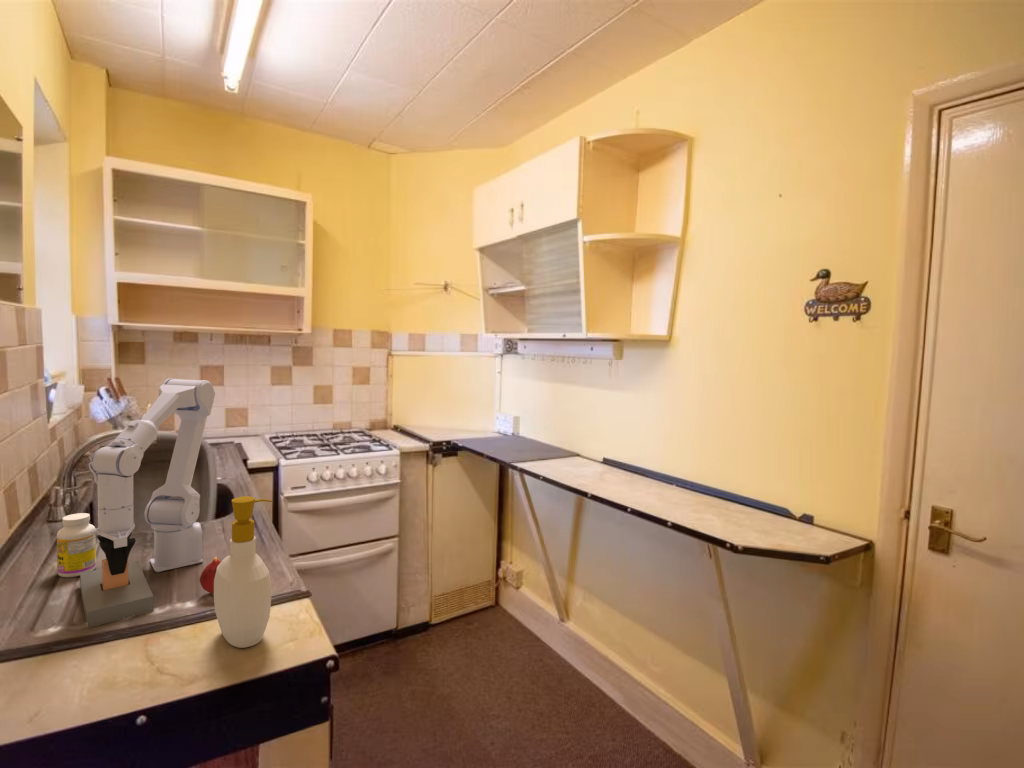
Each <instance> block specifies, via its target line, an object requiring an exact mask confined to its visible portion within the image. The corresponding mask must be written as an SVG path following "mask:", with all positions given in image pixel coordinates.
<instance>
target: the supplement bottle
mask: <svg viewBox="0 0 1024 768" xmlns="http://www.w3.org/2000/svg"><path fill="white" fill-rule="evenodd" d="M61 520H62V521H61V522H62V525H63V527H62V528H61V529H59V530H58V531H57V533H56V554H57V555H56V558H57V560H56V562H57V564H56V565H57V575H58V576H59V577H61V578H75V577H80V573H83V572H88V571H93V570H96V568H97V543H96V542H97V539H96V538H97V536H96V535H91V529H96V526H94V525H93V524H91V523H90V520H91V514H90V513H86V512H77V513H73V514H72V513H71V514H68V515H65V516H63V517H62V519H61Z"/></svg>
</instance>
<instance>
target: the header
mask: <svg viewBox="0 0 1024 768" xmlns="http://www.w3.org/2000/svg"><path fill="white" fill-rule="evenodd" d="M79 588H80V595H81V601H82V604H83V609H84V615H85V621H86V625H87V629H89V628H93V627H97V626H100V625H104V624H109V623H112V622H116V621H120V620H123V618H124V619H127V618H130V617H134V616H138V615H142V614H145V613H149V612H152V611H153V612H154V594H153V592H152V590H151V587H150V585H149V583H148V581H147V579H146V576H145V573H144V572H143V570H142V567H141V565H140V562H139V561H138V560H137V561H134V562H133V561H131V562H128V585H125V586H121V587H116V588H112V589H108V590H102V568H98V569H94V570H93V571H88V572H83V573H80V576H79ZM108 622H109V623H108Z"/></svg>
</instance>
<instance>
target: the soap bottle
mask: <svg viewBox="0 0 1024 768" xmlns="http://www.w3.org/2000/svg"><path fill="white" fill-rule="evenodd" d="M261 502H267V503H269V502H270V503H272V502H273V500H272V499H266V498H258V499H256V498H255V497H253V496H251V495H250V496H249V495H248V496H247V495H246V496H245V495H244V496H239V497H234V498H232V499H231V505H232V510H233V517H234V521H233V522H232V523H231V538H230V539H229V555H227V556H225V557H224V558H223V559H222V560H221V561H222V562H221V563H220V564H219V565H218V566H217V570H216V574H215V579H214V594H213V602H214V605H213V606H214V612H215V613H214V614H215V616H216V619H217V623H218V626H219V628H220V631H221V634H222V636H223V638H224V639H225V640H226V641H227V642H228V644H230V645H231V646H233V647H236V648H243V649H244V648H248V647H253V646H255V645H257V644H258V643H260V642H261V641H262V639H263V636H264V635H265V631H266V629H267V625H268V623H269V619H270V616H271V615H270V614H271V606H272V580H271V576H270V570H269V569H268V567H267V566H266V564H265V562H264V561H263V559H262V558H261V557H260V556H259V555H258V553H256V550H257V549H256V547H257V546H256V543H257V540H256V539H257V538H256V536H255V520H254V519H252V517H253V512H254V507H255V503H261Z"/></svg>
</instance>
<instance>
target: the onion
mask: <svg viewBox="0 0 1024 768" xmlns="http://www.w3.org/2000/svg"><path fill="white" fill-rule="evenodd" d="M222 561H223V560H220V559H219V557H217V556H214V557H213V559H212V561H211V563H208V564H207V565H206V566H205V568H204V569H202V572H201V573H200V576H199V582H200V586H201V588H203V589H202V590H204V591H206V592H208V593H210V594H212V595H214V579H215V574H216V570H217V566H218V565H219V564H220V563H221V562H222Z"/></svg>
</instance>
